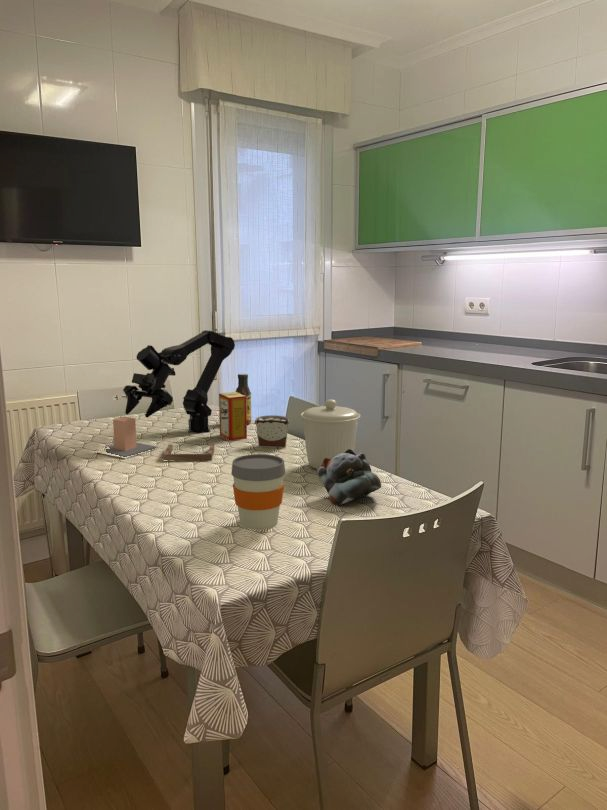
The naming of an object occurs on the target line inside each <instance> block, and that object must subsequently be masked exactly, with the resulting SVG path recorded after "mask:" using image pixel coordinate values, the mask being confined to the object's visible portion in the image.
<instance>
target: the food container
mask: <svg viewBox="0 0 607 810" xmlns="http://www.w3.org/2000/svg"><path fill="white" fill-rule="evenodd" d="M254 425H255V426H256V433H257V435H256V436H257V442H258V443H257V444H258V447H259V448H277V447H279V449H280V448H282V449H283V448H284V447H285V448H287V440H288V430H289V426H291V423H290V420H289V417H287V416H284V415H275V414H273V415H261V416H258V417H255V420H254Z"/></svg>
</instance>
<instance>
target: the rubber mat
mask: <svg viewBox="0 0 607 810" xmlns="http://www.w3.org/2000/svg"><path fill="white" fill-rule="evenodd" d="M136 444H137V448H133V449H130V450H127V451H123V450H118V449H115V446H114V444H111V445H107V446H108V447H109V448H110V449H106V452H107V453H111V454H115V455H119V456H123V457H127V456H131V455H135V454H138V453H141V452H145V451H148V450H152V449H155V448H156V449H157V446H156V445H152V444H151V445H150V444H146V443H142V442H136ZM104 447H105V448H107V447H106V446H104ZM152 451H153V450H152Z"/></svg>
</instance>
